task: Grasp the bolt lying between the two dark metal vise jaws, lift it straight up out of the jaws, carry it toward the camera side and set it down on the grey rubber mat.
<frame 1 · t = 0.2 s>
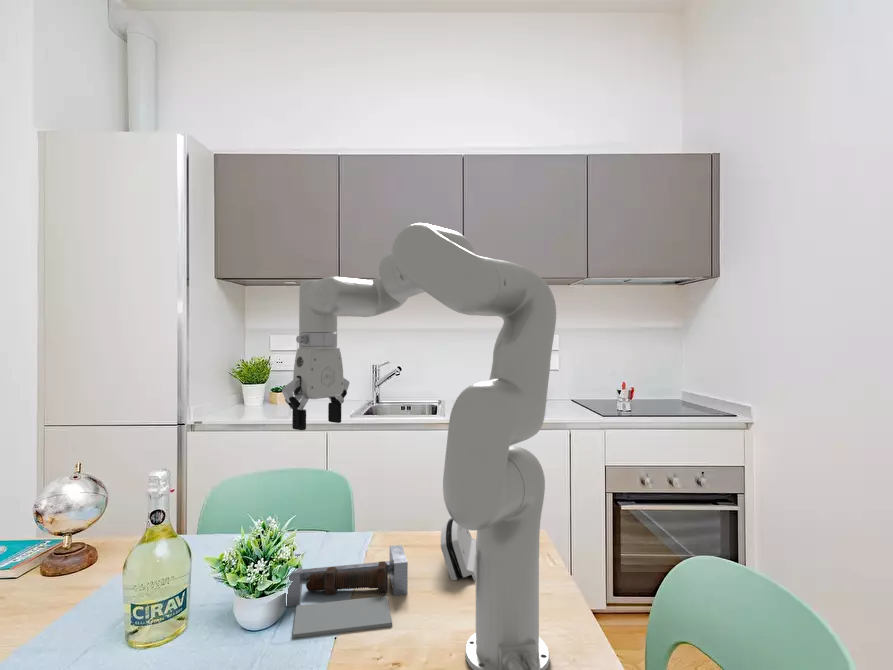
hand: (317, 425, 105), 30 cm above the table, tool pointing down, fingers open, 9 cm apart
bolt: (347, 592, 99), on the table
mat: (343, 617, 89), on the table
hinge: (460, 563, 111), on the table
vise: (347, 589, 99), on the table
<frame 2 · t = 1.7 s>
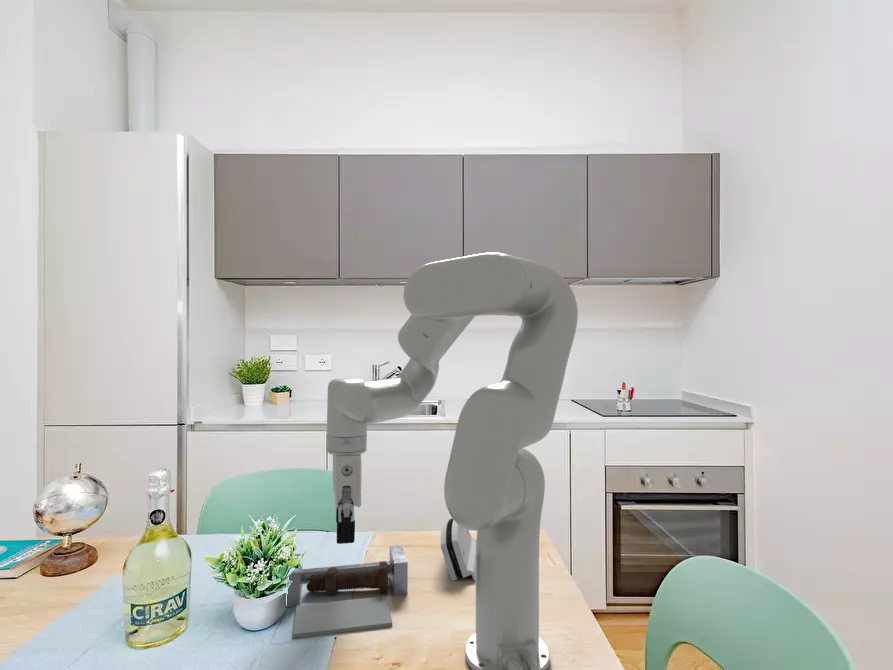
hand: (344, 532, 99), 11 cm above the table, tool pointing down, fingers open, 9 cm apart
nothing on the table moved.
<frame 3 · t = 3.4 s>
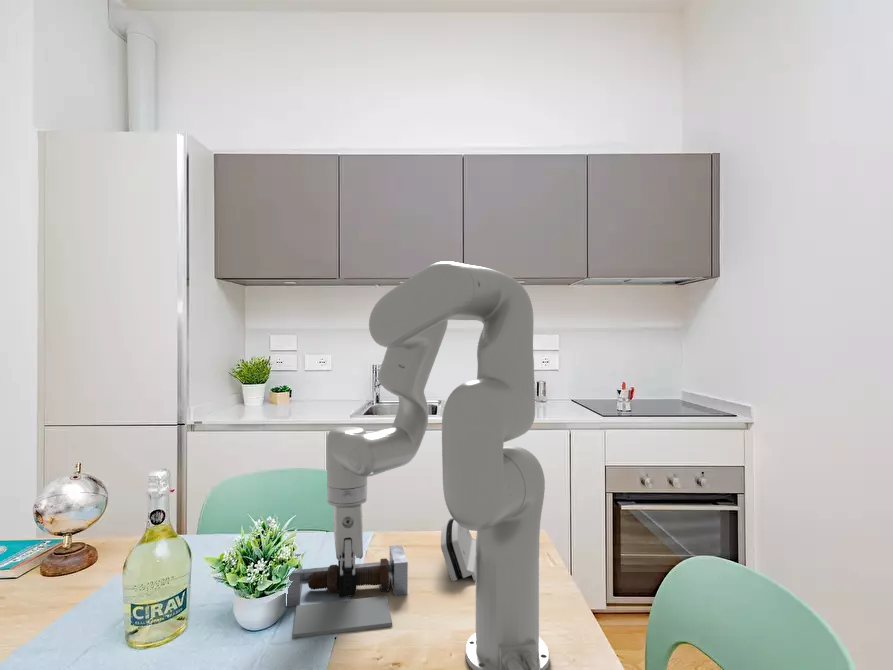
hand: (347, 586, 99), 1 cm above the table, tool pointing down, fingers closed on bolt, 5 cm apart
bolt: (349, 590, 99), on the table, touching gripper
everything else where it was.
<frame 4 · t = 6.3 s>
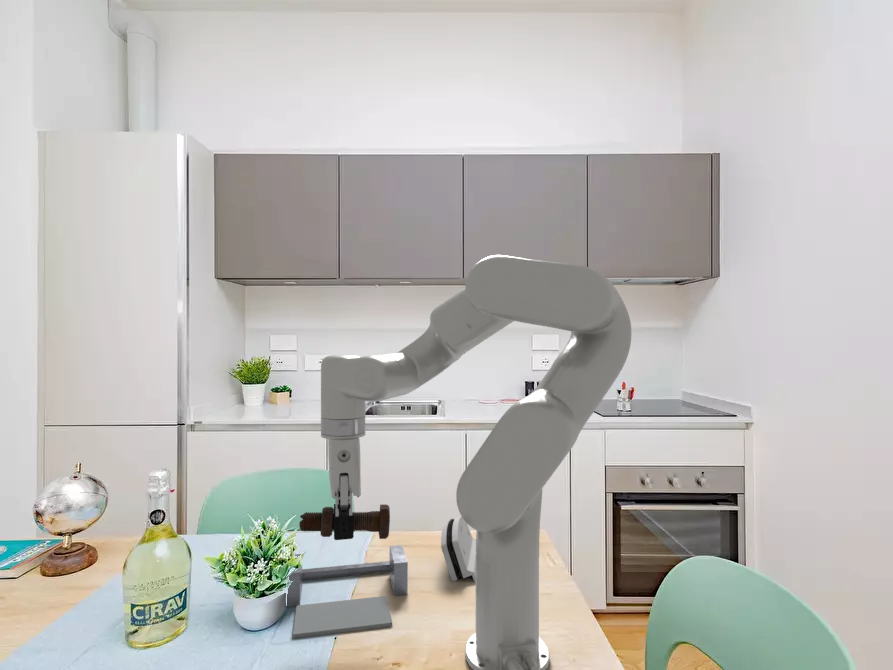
hand: (343, 531, 89), 15 cm above the table, tool pointing down, fingers closed on bolt, 5 cm apart
bolt: (343, 536, 89), point 14 cm above the table, touching gripper
everything else where it was.
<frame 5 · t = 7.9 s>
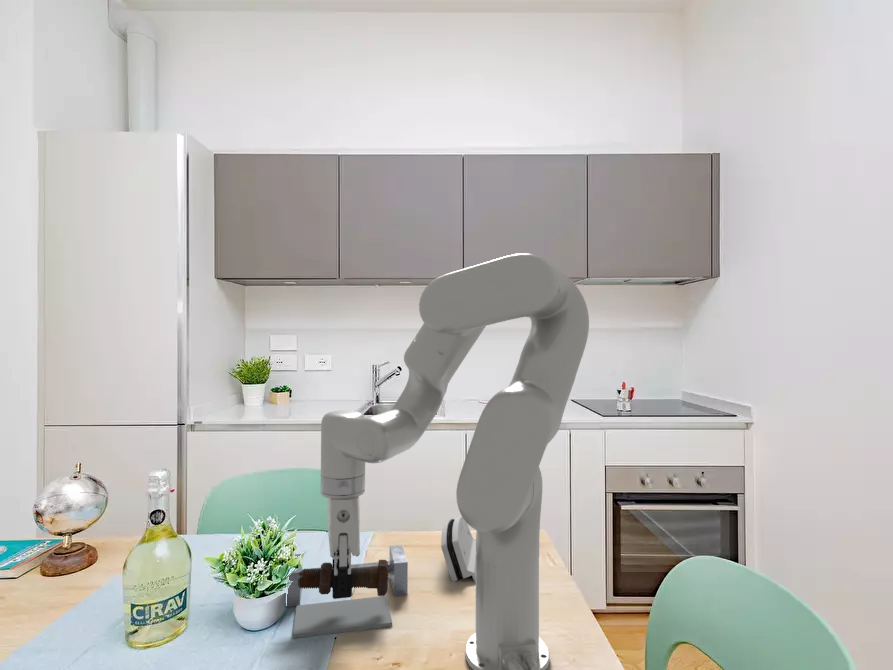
hand: (341, 587, 89), 5 cm above the table, tool pointing down, fingers closed on bolt, 5 cm apart
bolt: (342, 592, 89), point 4 cm above the table, touching gripper
everything else where it was.
when the fingers open (2 cm above the table, at t = 9.3 s): bolt drops 1 cm, resting on mat.
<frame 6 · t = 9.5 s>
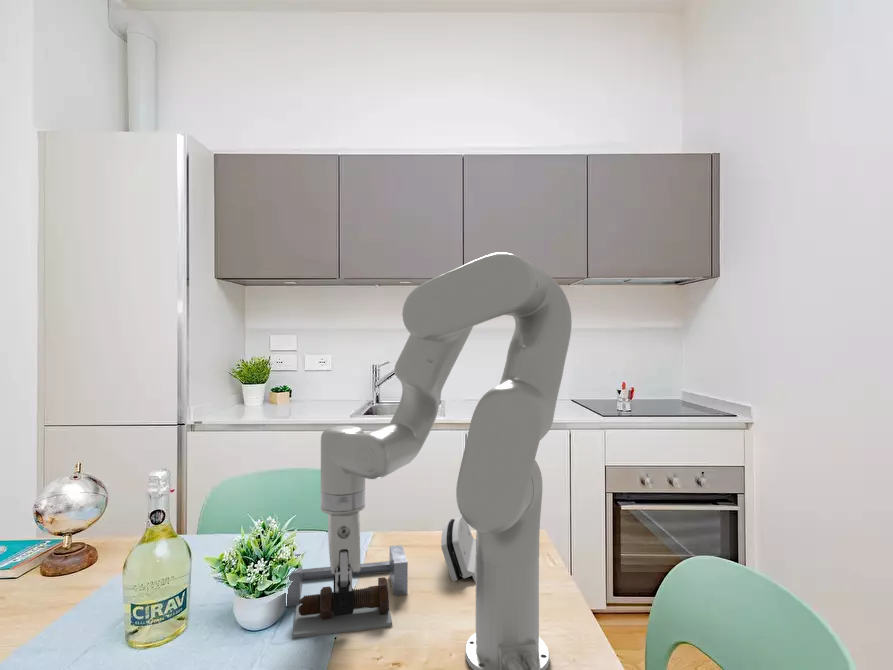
hand: (343, 601, 89), 3 cm above the table, tool pointing down, fingers open, 6 cm apart
bolt: (344, 614, 89), resting on mat
everything else where it was.
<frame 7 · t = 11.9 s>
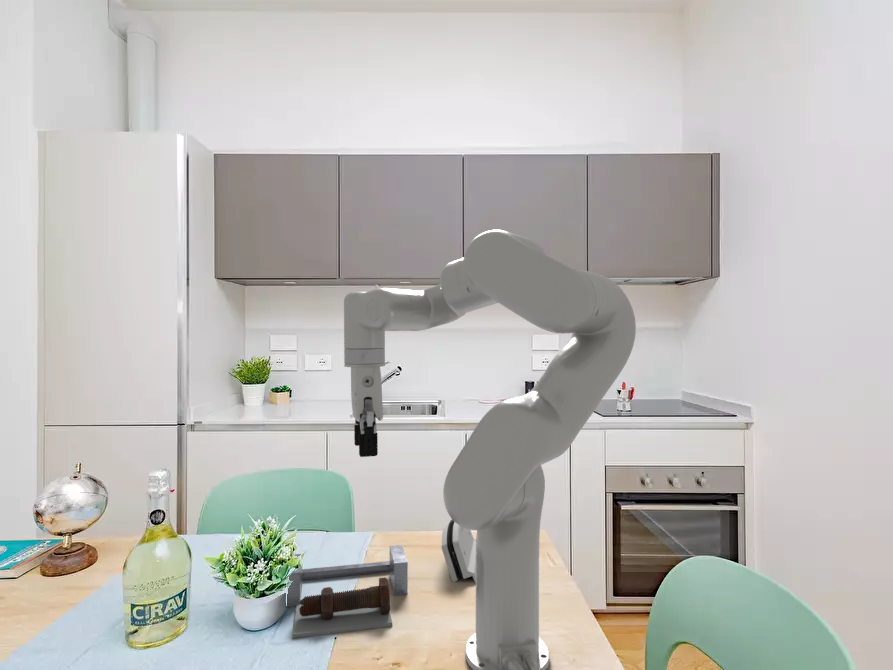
hand: (365, 450, 96), 27 cm above the table, tool pointing down, fingers open, 9 cm apart
nothing on the table moved.
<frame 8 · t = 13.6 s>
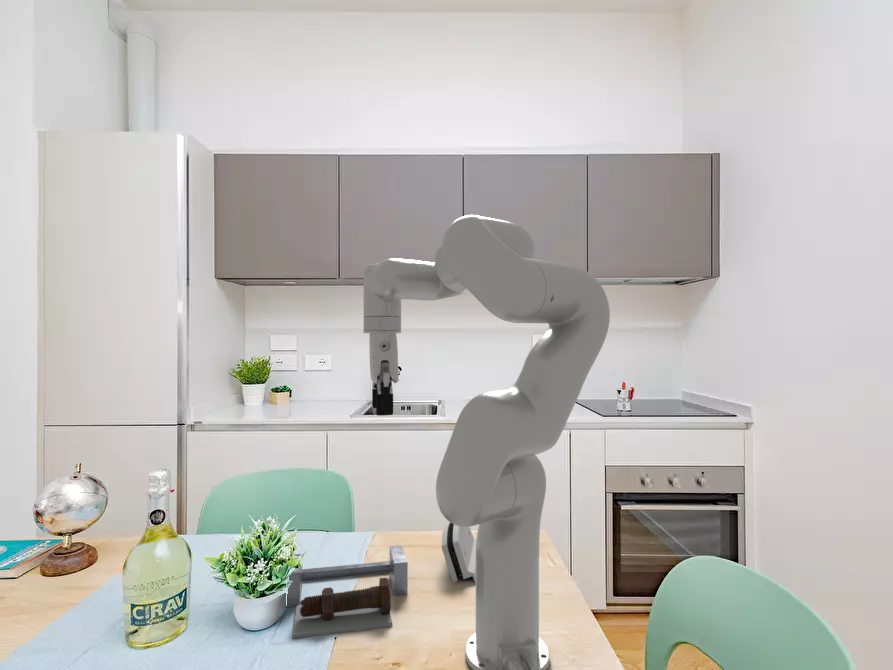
hand: (382, 411, 104), 33 cm above the table, tool pointing down, fingers open, 9 cm apart
nothing on the table moved.
at the end: bolt inside the target area on the mat (0.6 cm from its centre), point 0.4 cm above the mat's base; bolt moved 9.8 cm from its start; the gripper is holding nothing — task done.
